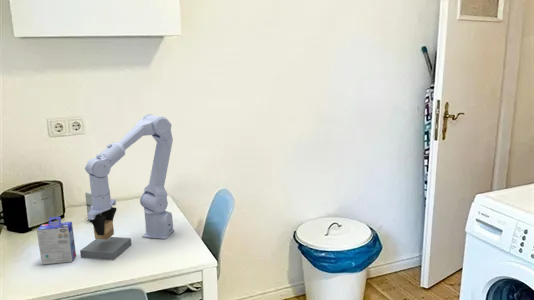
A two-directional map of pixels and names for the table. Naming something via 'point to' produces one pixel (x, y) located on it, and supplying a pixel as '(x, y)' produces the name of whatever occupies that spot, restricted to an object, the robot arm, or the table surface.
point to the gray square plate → (106, 248)
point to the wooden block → (106, 230)
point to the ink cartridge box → (56, 242)
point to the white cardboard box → (89, 200)
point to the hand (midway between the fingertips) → (104, 231)
